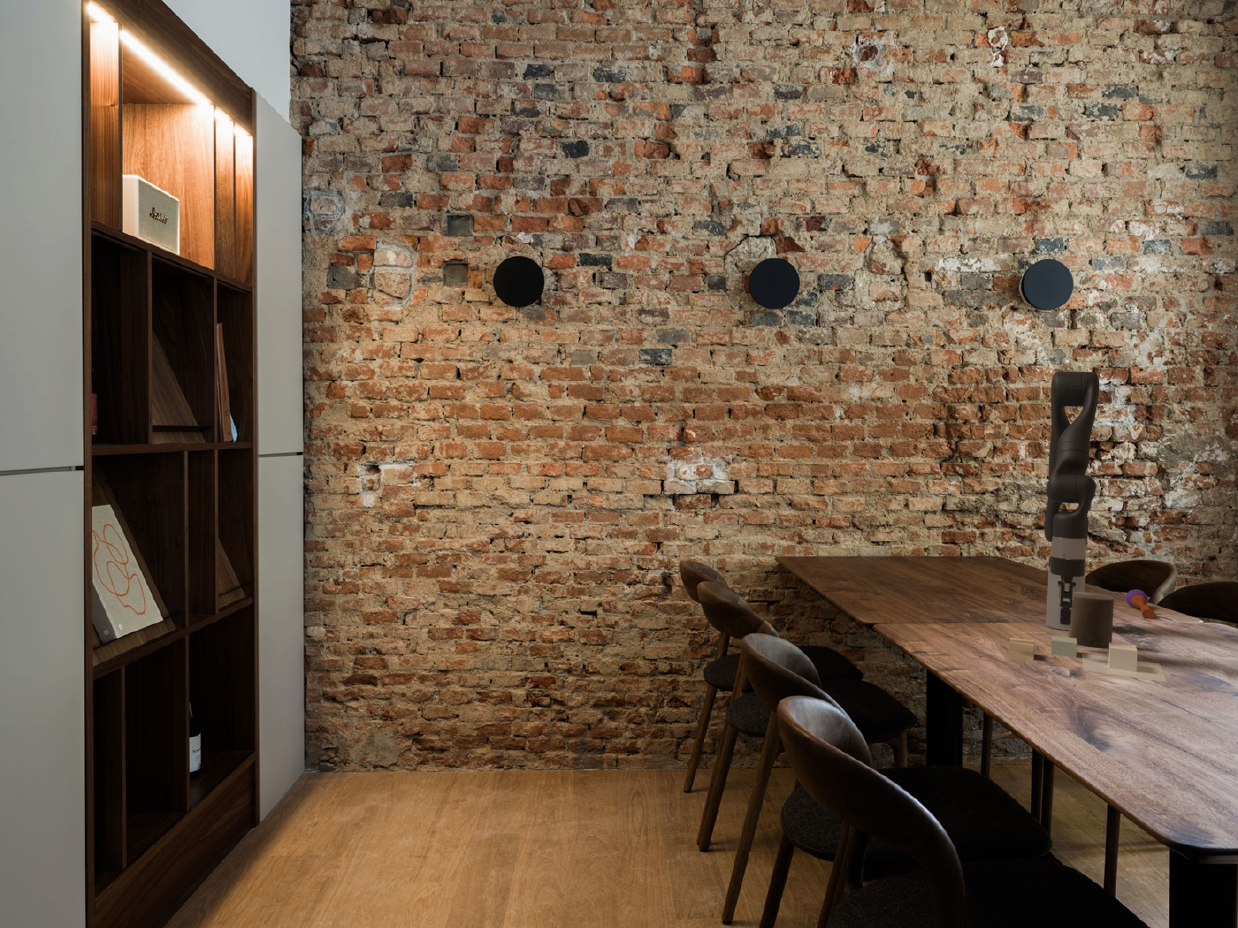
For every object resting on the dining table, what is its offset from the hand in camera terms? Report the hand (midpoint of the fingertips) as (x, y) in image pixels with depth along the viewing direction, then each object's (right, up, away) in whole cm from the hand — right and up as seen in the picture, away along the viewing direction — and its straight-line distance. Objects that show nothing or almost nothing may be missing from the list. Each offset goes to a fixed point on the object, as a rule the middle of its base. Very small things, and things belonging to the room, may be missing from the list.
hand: (1065, 620), depth 200 cm
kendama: (+53, -8, +53) cm, 76 cm away
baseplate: (+8, -10, -10) cm, 16 cm away
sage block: (0, -9, +1) cm, 9 cm away
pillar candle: (+12, -9, +11) cm, 19 cm away
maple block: (-12, -9, -2) cm, 15 cm away
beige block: (+8, -9, -10) cm, 15 cm away
